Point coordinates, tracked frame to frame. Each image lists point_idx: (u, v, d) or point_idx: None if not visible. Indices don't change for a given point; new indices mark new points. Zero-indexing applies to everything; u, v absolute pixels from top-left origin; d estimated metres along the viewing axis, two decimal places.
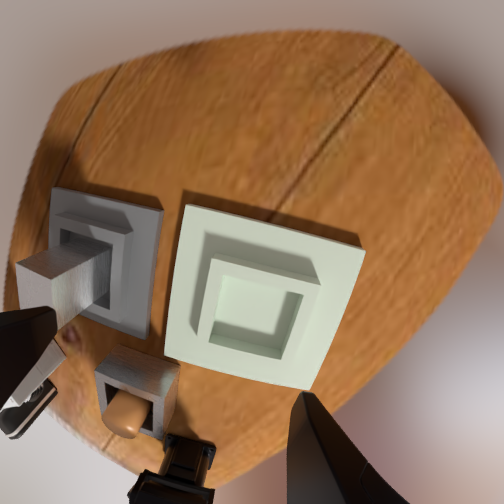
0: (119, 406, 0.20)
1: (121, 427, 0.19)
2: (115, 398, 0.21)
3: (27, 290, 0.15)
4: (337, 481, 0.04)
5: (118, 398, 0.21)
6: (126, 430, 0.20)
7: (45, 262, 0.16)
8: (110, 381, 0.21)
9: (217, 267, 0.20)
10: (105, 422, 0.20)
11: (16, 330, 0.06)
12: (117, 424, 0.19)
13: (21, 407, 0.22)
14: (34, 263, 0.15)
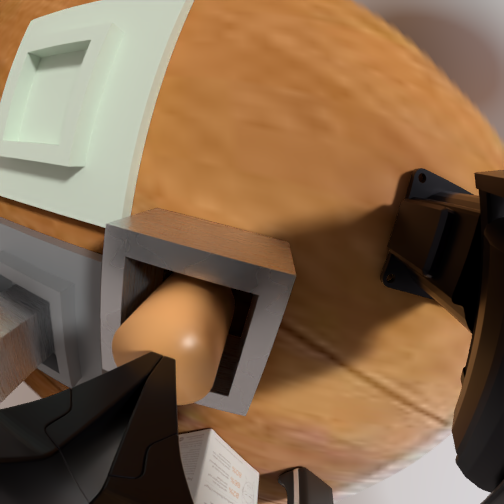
0: None
1: None
2: None
3: None
4: (122, 436, 0.04)
5: None
6: (167, 349, 0.08)
7: None
8: (110, 345, 0.11)
9: None
10: None
11: (134, 393, 0.06)
12: None
13: None
14: None
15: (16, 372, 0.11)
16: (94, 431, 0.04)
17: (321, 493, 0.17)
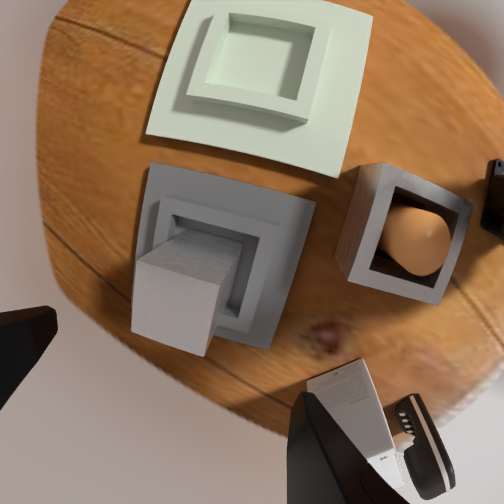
0: (392, 235, 0.15)
1: (427, 240, 0.13)
2: (387, 247, 0.16)
3: (163, 322, 0.13)
4: (337, 481, 0.04)
5: (385, 242, 0.16)
6: (432, 232, 0.13)
7: None
8: (365, 255, 0.15)
9: (196, 88, 0.16)
10: (423, 270, 0.14)
11: (16, 330, 0.06)
12: (422, 245, 0.14)
13: (416, 452, 0.16)
14: None
15: (220, 312, 0.16)
16: None
17: None
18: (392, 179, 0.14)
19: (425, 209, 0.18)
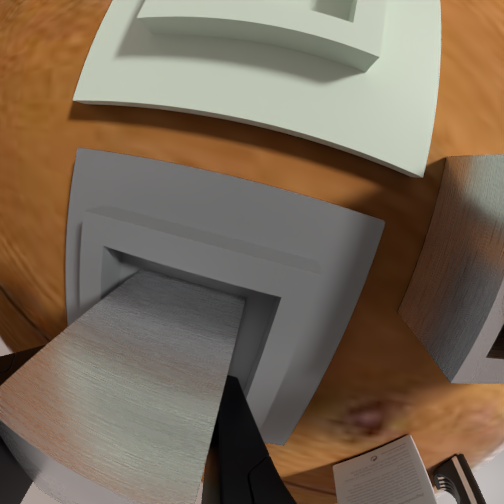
0: None
1: None
2: None
3: None
4: (220, 467, 0.04)
5: None
6: None
7: None
8: (488, 336, 0.06)
9: (156, 5, 0.06)
10: None
11: None
12: None
13: None
14: None
15: None
16: None
17: None
18: None
19: None
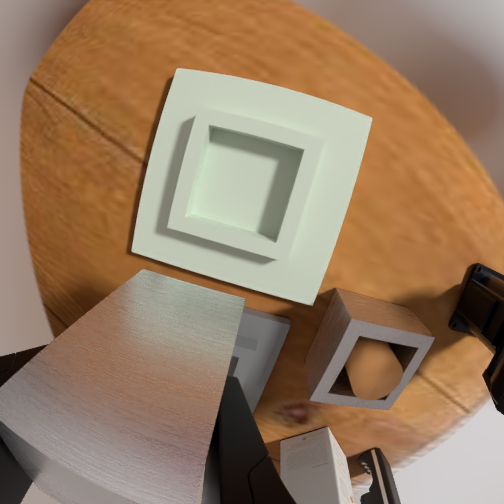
0: (351, 371, 0.17)
1: (380, 378, 0.16)
2: (347, 372, 0.18)
3: None
4: (220, 468, 0.04)
5: (346, 369, 0.18)
6: (386, 372, 0.16)
7: None
8: (325, 384, 0.17)
9: (176, 221, 0.18)
10: (374, 397, 0.16)
11: None
12: (375, 382, 0.16)
13: (369, 499, 0.19)
14: None
15: None
16: None
17: (388, 466, 0.24)
18: (357, 331, 0.16)
19: None
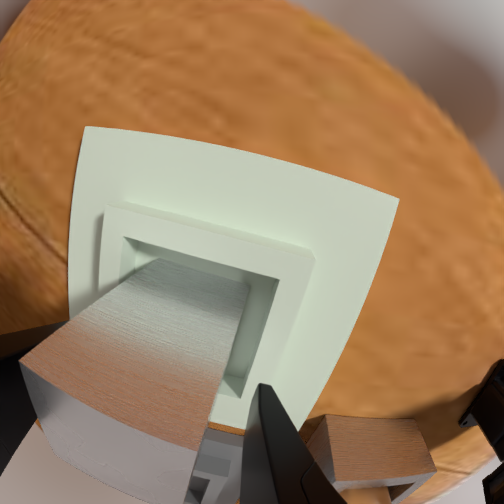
0: None
1: None
2: None
3: (96, 464, 0.05)
4: (273, 477, 0.04)
5: None
6: None
7: None
8: None
9: None
10: None
11: None
12: None
13: None
14: None
15: (208, 424, 0.07)
16: (0, 370, 0.04)
17: None
18: (342, 487, 0.10)
19: None
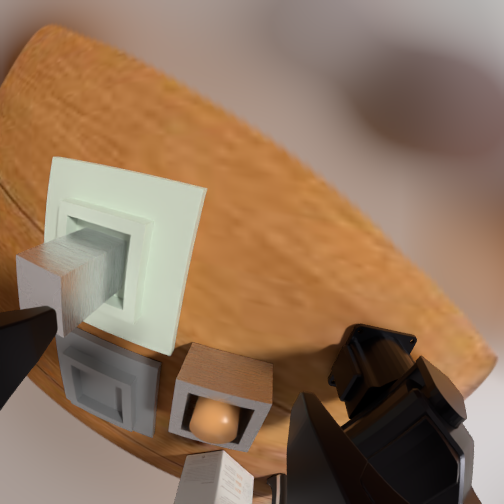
0: None
1: (213, 429, 0.18)
2: None
3: (35, 305, 0.13)
4: (337, 481, 0.04)
5: None
6: (217, 426, 0.18)
7: None
8: (175, 423, 0.19)
9: None
10: (215, 442, 0.18)
11: (16, 330, 0.06)
12: (209, 431, 0.18)
13: None
14: None
15: (89, 302, 0.16)
16: None
17: None
18: (184, 389, 0.18)
19: None
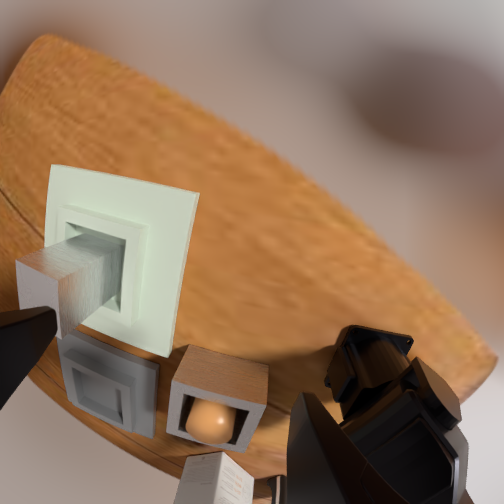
0: None
1: (209, 429, 0.18)
2: None
3: None
4: (337, 481, 0.04)
5: None
6: (212, 426, 0.18)
7: None
8: (173, 423, 0.20)
9: None
10: (211, 442, 0.19)
11: (16, 330, 0.06)
12: (205, 431, 0.18)
13: None
14: None
15: (86, 305, 0.16)
16: None
17: None
18: (180, 390, 0.18)
19: None
